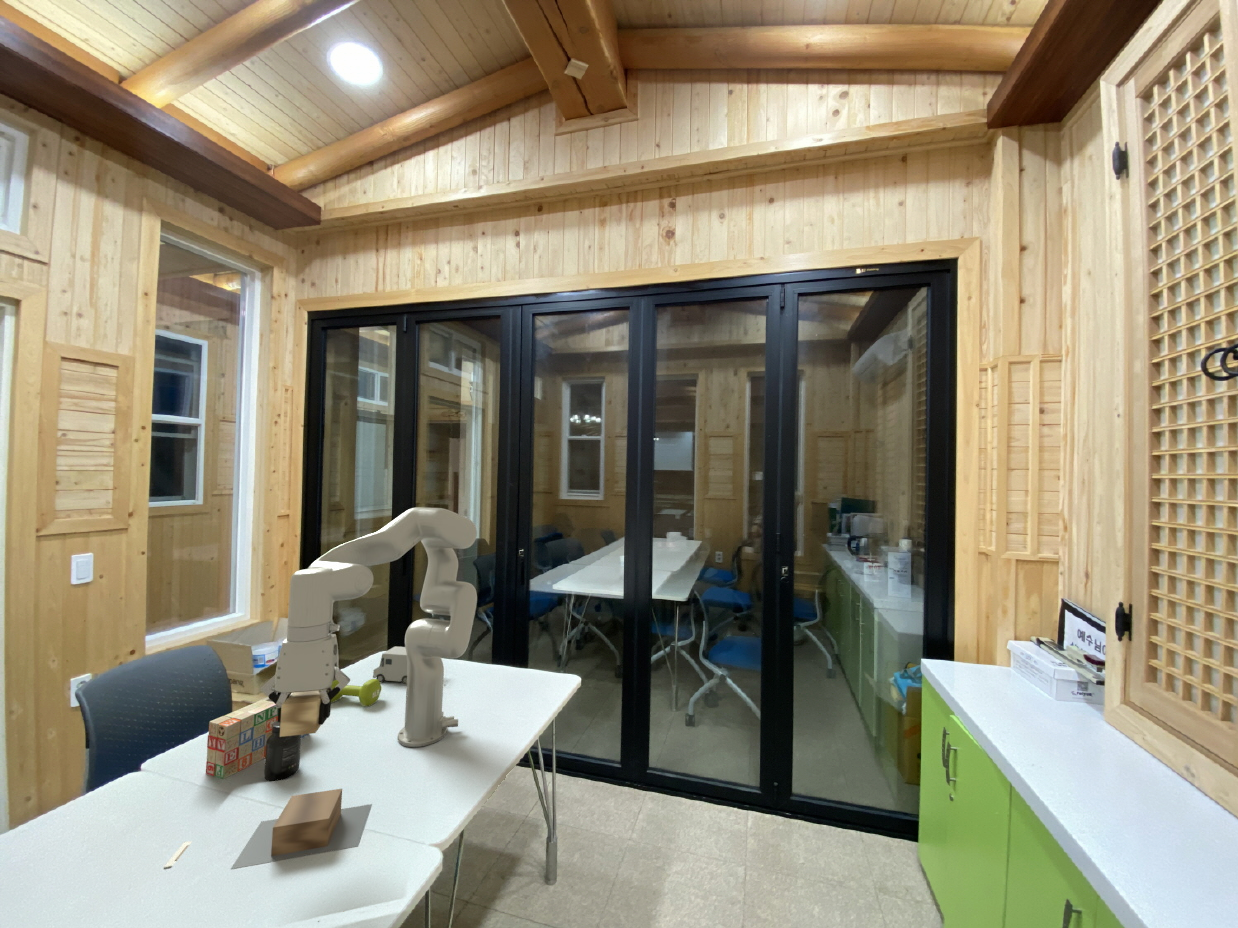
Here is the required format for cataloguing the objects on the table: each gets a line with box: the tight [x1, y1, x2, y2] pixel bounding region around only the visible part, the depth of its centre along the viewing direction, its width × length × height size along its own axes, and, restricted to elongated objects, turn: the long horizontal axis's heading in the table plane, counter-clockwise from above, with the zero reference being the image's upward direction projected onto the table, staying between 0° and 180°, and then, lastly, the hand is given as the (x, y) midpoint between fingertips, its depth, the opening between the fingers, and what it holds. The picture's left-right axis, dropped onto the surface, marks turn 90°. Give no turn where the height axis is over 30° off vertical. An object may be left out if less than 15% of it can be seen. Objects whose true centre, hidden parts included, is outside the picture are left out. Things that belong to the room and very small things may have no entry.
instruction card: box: [163, 840, 193, 869], centre depth 86 cm, size 8×6×1 cm
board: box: [230, 803, 373, 870], centre depth 89 cm, size 20×12×1 cm, turn 107°
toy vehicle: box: [372, 646, 407, 685], centre depth 165 cm, size 9×18×10 cm, turn 85°
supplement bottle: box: [263, 721, 302, 783], centre depth 110 cm, size 7×7×12 cm
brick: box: [271, 788, 343, 856], centre depth 90 cm, size 9×9×5 cm
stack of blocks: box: [205, 699, 309, 780], centre depth 118 cm, size 21×6×12 cm, turn 162°
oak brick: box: [280, 691, 322, 737], centre depth 92 cm, size 6×6×6 cm
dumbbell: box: [331, 678, 382, 707], centre depth 147 cm, size 16×8×7 cm, turn 82°
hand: (304, 722), depth 92 cm, fingers closed on oak brick, 6 cm apart
